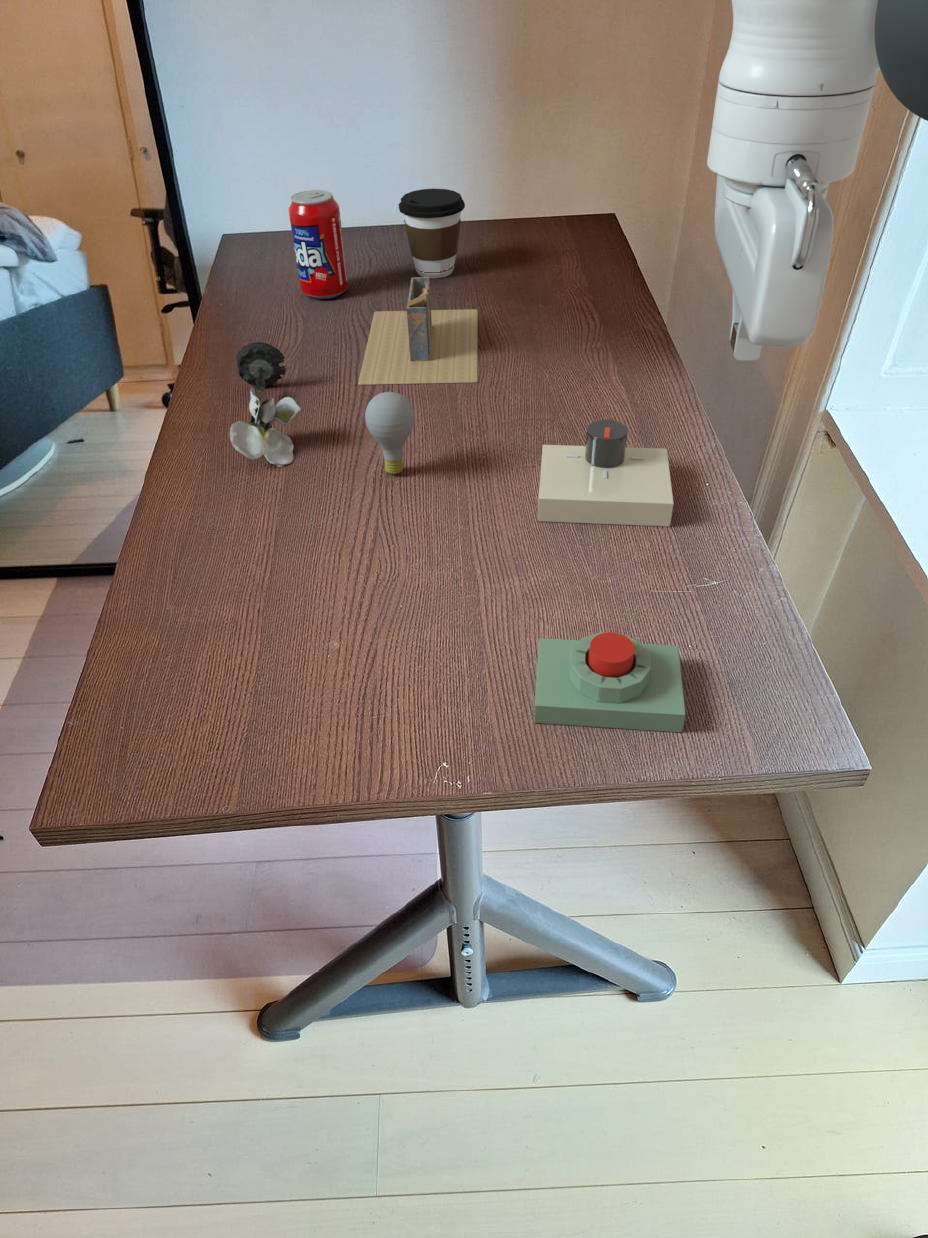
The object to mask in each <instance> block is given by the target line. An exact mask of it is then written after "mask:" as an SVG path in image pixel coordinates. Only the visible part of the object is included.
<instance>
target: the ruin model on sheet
mask: <svg viewBox="0 0 928 1238" xmlns="http://www.w3.org/2000/svg"><path fill="white" fill-rule="evenodd" d="M431 303H432V302H431V286H430V278H429V277H422V276H420V277H419V276H417V277H416V276H415V277H411V278H410V284H409V290H408V297H407V304H406V310H383V311H381V310H380V311H377V310H376V311H373V316H372V321H371V325H370V329H369V333H368V337H367V343H366V347H365V351H364V355H363V360H362V363H361V364H362V365H361V369H360V373H359V377H358V383H357V385H358V386H362V385H365V386H366V385H408V384H409V385H412V384H414V385H415V384H416V385H417V384H460V383H462V384H466V383H468V384H469V383H470V384H471V383H478V348H479V347H478V345H479V344H478V343H479V342H478V334H479V333H478V329H479V327H478V323H479V322H478V320H479V319H478V318H479V317H478V315H479V314H478V310H479V309H477V308H472V309H471V308H469V309H467V308H466V309H464V308H463V309H432V304H431Z"/></svg>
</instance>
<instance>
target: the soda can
mask: <svg viewBox="0 0 928 1238" xmlns="http://www.w3.org/2000/svg"><path fill="white" fill-rule="evenodd" d="M290 201H291V203H290V205H289V207H288V216H289V223H290V229H291V230H290V231H291V236H292V241H293V248H294V249H293V250H294V255H295V261H296V267H297V273H298V279H299V280H298V281H299V286H300V291H301V292H302V293H303V294H304V295H306V296H307V297H310V298H313V299H316V300H328V299H334V298H336V297H339V296H341V295H342V294H343V293H345V292H346V291H347V290H348V288H349V277H348V269H347V261H346V252H345V245H344V236H343V228H342V227H343V226H342V219H341V211H340V206H339V203H338V202H337V201H336V200H335V198H334V193H332V192H331V191H329V190H323V189H322V190H321V189H313V190H311V189H310V190H304V191H300V192H299V191H298V192H297V193H295V194H292V196H291V197H290Z"/></svg>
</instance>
